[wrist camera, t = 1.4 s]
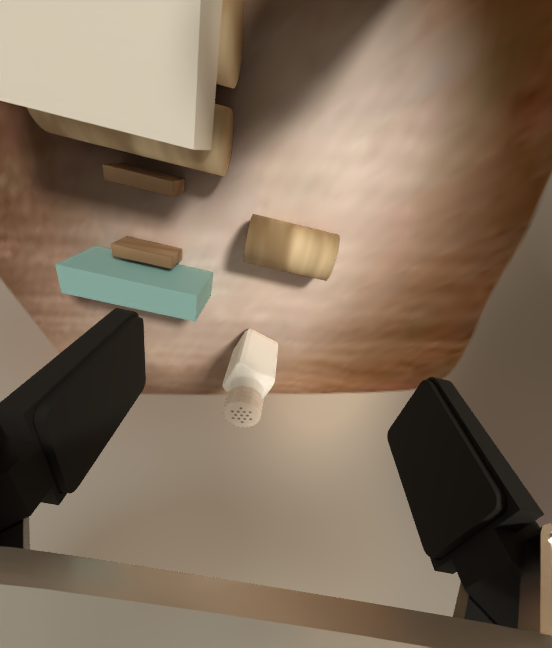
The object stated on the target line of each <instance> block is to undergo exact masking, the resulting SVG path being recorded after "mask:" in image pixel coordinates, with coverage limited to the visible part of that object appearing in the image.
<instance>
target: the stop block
mask: <svg viewBox="0 0 552 648" xmlns="http://www.w3.org/2000/svg"><path fill="white" fill-rule="evenodd" d="M55 265H56V270H57V274H58V278H59V283H60V287H61V291H62V293H65V294H69V295H74V296H79V297H83V298H88V299H92V300H97V301H102V302H106V303H111V304H116V305H120V306H125V307H130V308H134V309H139V310H144V311H148V312H153V313H157V314H162V315H167V316H171V317H176V318H181V319H185V320H190V321H196V319H197V318H198V316H199V314H200V313H201V311H202V309H203V308H204V306H205V304H206V303H207V301H208V299H209V298H210V296H211V289H212V279H213V272H209V271H205V270H200V269H196V268H191V267H187V266H183V265H178V264H176V265H175V266H174V267H173V268H172V269H170V268H165V267H161V266H156V265H152V264H148V263H143V262H139V261H134V260H130V259H125V258H121V257H117V256H112V249H108V248H103V247H99V246H94V247H92V248H90V249H87V250H85V251H83V252H81V253H79V254H77V255H74V256H72V257H70V258H68V259H66V260H64V261H61V262H59V263H57V264H55Z"/></svg>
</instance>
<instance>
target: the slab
mask: <svg viewBox="0 0 552 648" xmlns="http://www.w3.org/2000/svg"><path fill="white" fill-rule="evenodd" d="M222 2H223V0H0V100H1V101H5V102H8V103H12V104H16V105H20V106H24V107H28V108H32V109H36V110H40V111H44V112H48V113H52V114H56V115H59V116H63V117H67V118H71V119H75V120H79V121H83V122H87V123H91V124H95V125H99V126H103V127H107V128H111V129H114V130H118V131H122V132H126V133H130V134H134V135H138V136H142V137H146V138H150V139H154V140H158V141H162V142H166V143H169V144H173V145H177V146H181V147H185V148H189V149H193V150H211V148H212V134H213V121H214V108H215V95H216V81H217V68H218V55H219V42H220V28H221V15H222Z"/></svg>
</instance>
